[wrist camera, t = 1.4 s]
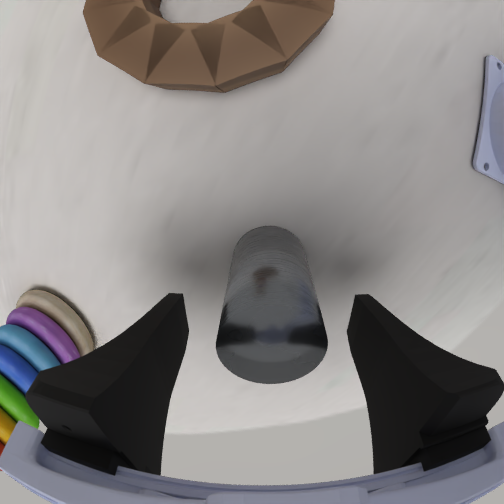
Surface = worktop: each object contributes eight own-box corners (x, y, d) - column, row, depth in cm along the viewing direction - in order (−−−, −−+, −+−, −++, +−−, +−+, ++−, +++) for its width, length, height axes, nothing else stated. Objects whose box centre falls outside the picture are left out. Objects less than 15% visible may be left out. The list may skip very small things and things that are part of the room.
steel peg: (312, 232, 15) (342, 312, 9) (296, 293, 17) (310, 386, 11) (238, 220, 15) (220, 297, 9) (229, 284, 17) (212, 377, 11)
